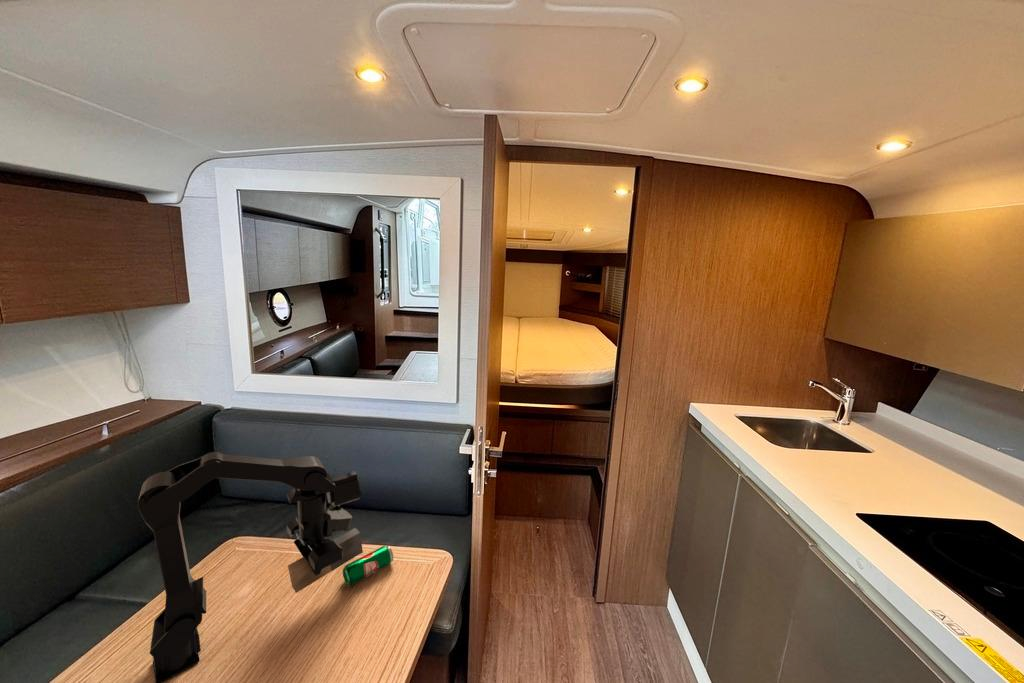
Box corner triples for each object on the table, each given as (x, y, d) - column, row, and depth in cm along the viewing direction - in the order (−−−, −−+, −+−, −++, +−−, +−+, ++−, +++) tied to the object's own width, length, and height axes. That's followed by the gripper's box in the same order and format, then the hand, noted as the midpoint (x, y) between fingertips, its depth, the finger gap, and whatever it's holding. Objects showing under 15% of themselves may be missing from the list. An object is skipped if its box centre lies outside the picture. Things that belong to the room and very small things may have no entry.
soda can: (350, 574, 95) (394, 550, 104) (341, 562, 98) (385, 540, 107) (350, 591, 96) (394, 566, 105) (341, 578, 100) (385, 555, 108)
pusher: (296, 593, 88) (291, 571, 86) (292, 586, 89) (287, 565, 88) (362, 552, 99) (359, 532, 97) (358, 547, 101) (355, 527, 99)
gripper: (364, 514, 89) (366, 574, 91) (331, 483, 101) (333, 536, 104) (314, 537, 80) (317, 602, 83) (284, 500, 93) (287, 557, 96)
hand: (315, 571), depth 92 cm, fingers closed on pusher, 2 cm apart
